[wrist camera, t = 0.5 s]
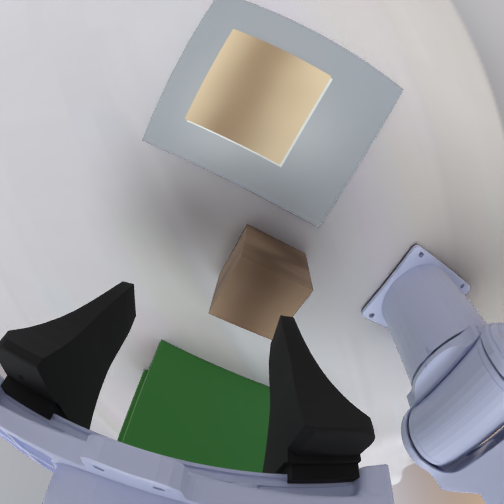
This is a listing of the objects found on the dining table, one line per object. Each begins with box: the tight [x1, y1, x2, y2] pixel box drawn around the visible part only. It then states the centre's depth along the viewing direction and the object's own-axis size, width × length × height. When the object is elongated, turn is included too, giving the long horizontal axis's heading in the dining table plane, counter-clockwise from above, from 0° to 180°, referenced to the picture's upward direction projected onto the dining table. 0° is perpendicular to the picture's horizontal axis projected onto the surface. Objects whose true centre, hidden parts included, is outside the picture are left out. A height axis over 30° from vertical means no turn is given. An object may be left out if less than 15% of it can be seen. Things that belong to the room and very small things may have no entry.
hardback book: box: [117, 340, 270, 473], centre depth 20 cm, size 18×7×24 cm, turn 59°
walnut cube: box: [209, 224, 313, 340], centre depth 21 cm, size 5×5×5 cm
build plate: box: [142, 0, 404, 228], centre depth 17 cm, size 14×12×1 cm
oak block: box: [185, 29, 331, 165], centre depth 15 cm, size 6×6×3 cm
